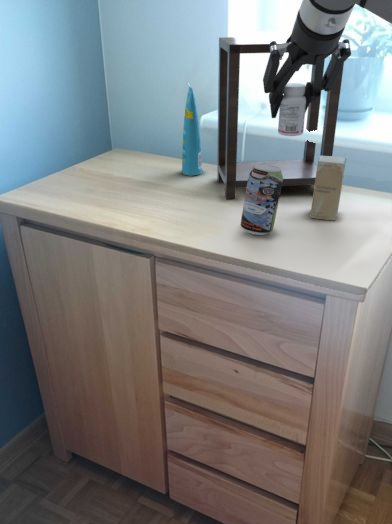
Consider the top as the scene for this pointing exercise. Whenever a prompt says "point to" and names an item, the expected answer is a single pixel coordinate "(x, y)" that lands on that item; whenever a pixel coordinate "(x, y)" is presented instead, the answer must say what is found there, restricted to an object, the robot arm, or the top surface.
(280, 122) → the pill bottle
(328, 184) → the box
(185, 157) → the tube
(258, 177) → the beverage can
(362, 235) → the top surface
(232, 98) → the rack
